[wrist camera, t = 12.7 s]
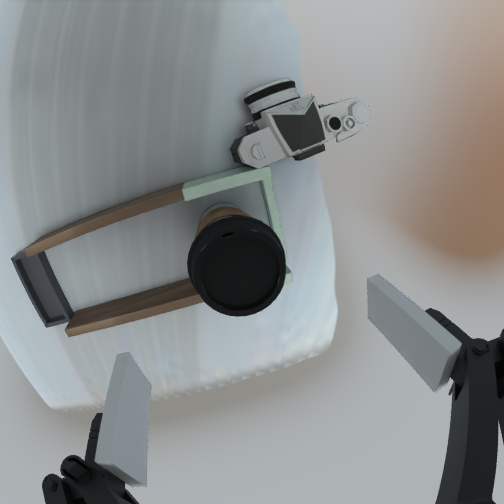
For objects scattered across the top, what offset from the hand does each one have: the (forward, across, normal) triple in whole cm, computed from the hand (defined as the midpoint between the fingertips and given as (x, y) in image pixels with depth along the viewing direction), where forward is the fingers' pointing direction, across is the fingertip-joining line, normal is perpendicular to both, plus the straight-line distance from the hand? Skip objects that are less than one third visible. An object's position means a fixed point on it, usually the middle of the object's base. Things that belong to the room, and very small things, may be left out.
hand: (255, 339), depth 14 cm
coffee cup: (+23, 0, -1) cm, 23 cm away
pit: (+23, -28, -1) cm, 36 cm away
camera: (+24, +11, +11) cm, 28 cm away
